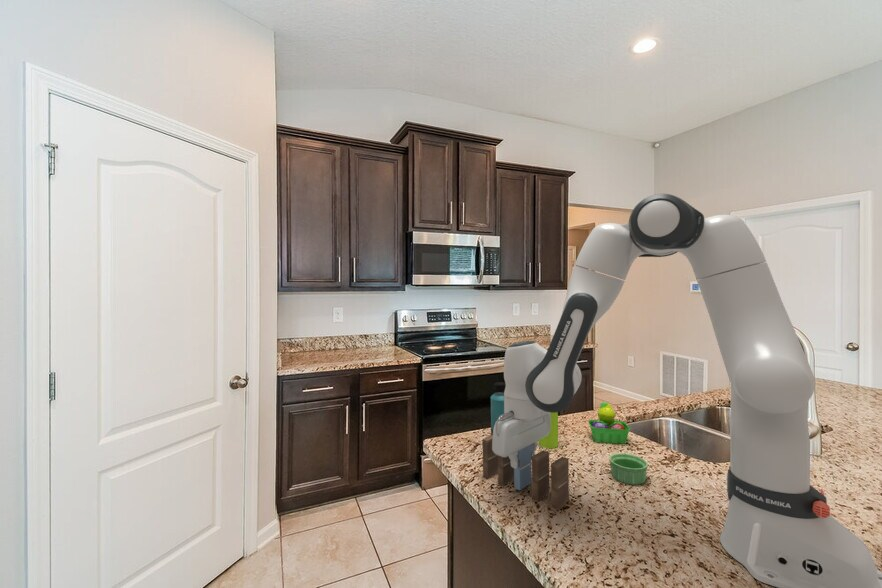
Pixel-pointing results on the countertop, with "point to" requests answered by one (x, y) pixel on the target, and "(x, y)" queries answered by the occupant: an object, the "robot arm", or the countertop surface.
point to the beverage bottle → (497, 403)
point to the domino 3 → (523, 469)
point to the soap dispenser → (551, 433)
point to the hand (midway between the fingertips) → (523, 462)
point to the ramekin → (628, 468)
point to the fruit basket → (608, 426)
